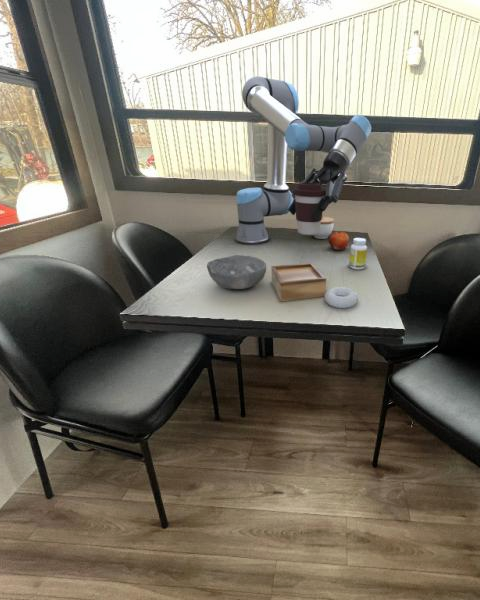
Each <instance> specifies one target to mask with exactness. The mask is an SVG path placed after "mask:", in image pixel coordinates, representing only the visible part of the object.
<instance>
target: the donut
mask: <svg viewBox="0 0 480 600" xmlns="http://www.w3.org/2000/svg"><path fill="white" fill-rule="evenodd" d="M323 297H324V301H325V302H326V303H327V304H328V305H329V306H331V307H333V308H338V309H349V308H352V307H353V306H355V305H356V304H357V303H358V301H359V297H358V293H357V292H356V291H355V290H354V289H352V288H349V287H344V286H334V287H331V288H329V289H326V293H325V296H323Z"/></svg>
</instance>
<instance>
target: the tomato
mask: <svg viewBox="0 0 480 600" xmlns="http://www.w3.org/2000/svg"><path fill="white" fill-rule="evenodd" d="M349 242H350V237H349V235H348V234H347V233H346V232H344V231H342V230H339V231H335V232H332V233H331V234H330V235H329V236H328V244H329V246H330V247H331V248H332V249H334V250H336V251H341V250H342V251H343V250H345V249H346V248H347V247H348V245H349Z"/></svg>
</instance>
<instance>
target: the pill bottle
mask: <svg viewBox="0 0 480 600" xmlns="http://www.w3.org/2000/svg"><path fill="white" fill-rule="evenodd" d="M352 243H353V244H351V246H350V251H349V252H350V253H349V268H351V269H353V270H363V269H365V268H366V262H367V252H368V246H367V245H366V243H367V239H366V238H363V237H355V238H353V241H352Z"/></svg>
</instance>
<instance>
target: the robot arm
mask: <svg viewBox="0 0 480 600" xmlns="http://www.w3.org/2000/svg"><path fill="white" fill-rule="evenodd" d="M241 92H242V93H241V96H242V101H243V104H244V106H245V107H246V108H247V109H248V111H250V112H251V114H253V115H256V116H259V117H260V118H262V119H263V120H265V122H267V173H266V175H267V176H266V178H267V179H266V180H267V181H266V183H264V185H263V189H262V188H261V187H246V188H243V189H239V190H238V191H237V193H236V202H235V203H236V207H237V208H236V209H237V219H238V226H237V231H236V234H235V240H236V242H237V243H239V244H244V245H259V244H264V243H266V242H268V241H269V234H268V231H267V228H266V226H265V217H275V216H282V215H287V214H288V213H290V214H291V215H292V216H295V215H296V209H295V200H296V198H295V197H293V192H291V191H290V186H288V185H287V162H288V161H287V159H288V148H289V149H290V150H292V151H297V152H304V151H305V152H322V153H324V154H325V153H326V154H327V155H326V156H325V158H324V160H323V163H322V164H323V165H322V167H321V168H320V169H319V170H317V169H316V168H315V167H314V168H312V170H311V171H310V173H309V174H308V175H307V176H306V177H305V178H304V180H302V181H301V183H318V184H321V186H323V185H326V187H325V190H326V192H325V195H324V196H323V198H321V200H320V202H319V203H318V205H317V206H316V208H315V209H314V211H313V212H312V214H311V216H312V217H313V219H314V220H315V221H317V220H318V218H319V217H320V215H321V214H322V215H323V212H326V210H327V208H329V207H328V206H329V205H331V204H332V203H334V204H336V203H337V202H338V201H339V198H340V195H341V192H342V191H343V190H342V189H343V187H344V184H345V183H346V181H347V180H348V176H347V174H346V171H347V170H348V168H349V166H350V165H351V164H352V162H353V160H354V158H355V157H356V155H357V154H358V153H359V151H360V150H361V148H363V145H364V144H365V143H366V142H367V140H368V138H369V136H370V134H371V132H372V125H371V122H370V121H369V119H368V118H366V117H365V116H364V115H361V114H355V115H354V116H352V118H351V119H350V120H349V122H348V123H347V124H343V125H338V126H324V125H314V124H309V123H307V122H305V121H304V120H303V119H302V118H300V117H299V116H298V115H296V114H297V113H298V110H299V105H300V104H299V103H300V102H299V95H298V91H297V90H296V88H295V86H294V85H293V84H292V83H291V82H287V81H285V80H279V79H274V78H269V77H263V76H253V77H250V78H248V80H247V81H246V82H245V83H244V85H243V86H242V91H241Z"/></svg>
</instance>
